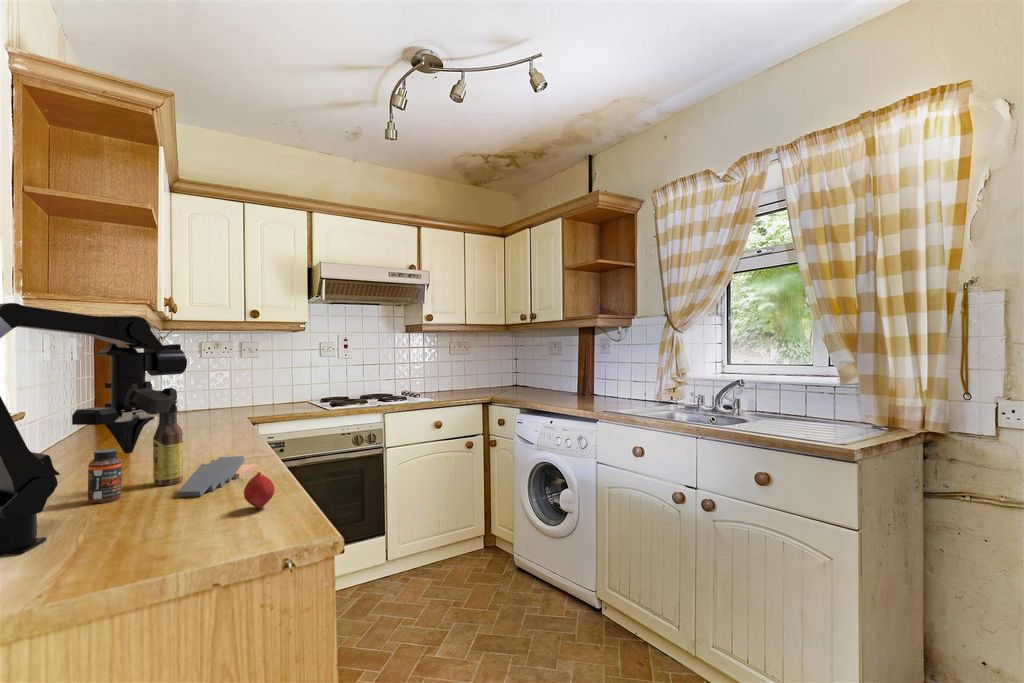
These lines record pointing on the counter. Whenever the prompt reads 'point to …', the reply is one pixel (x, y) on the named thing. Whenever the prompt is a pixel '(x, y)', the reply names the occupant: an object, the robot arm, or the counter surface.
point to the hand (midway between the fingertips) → (128, 453)
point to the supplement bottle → (104, 476)
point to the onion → (259, 490)
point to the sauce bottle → (168, 450)
